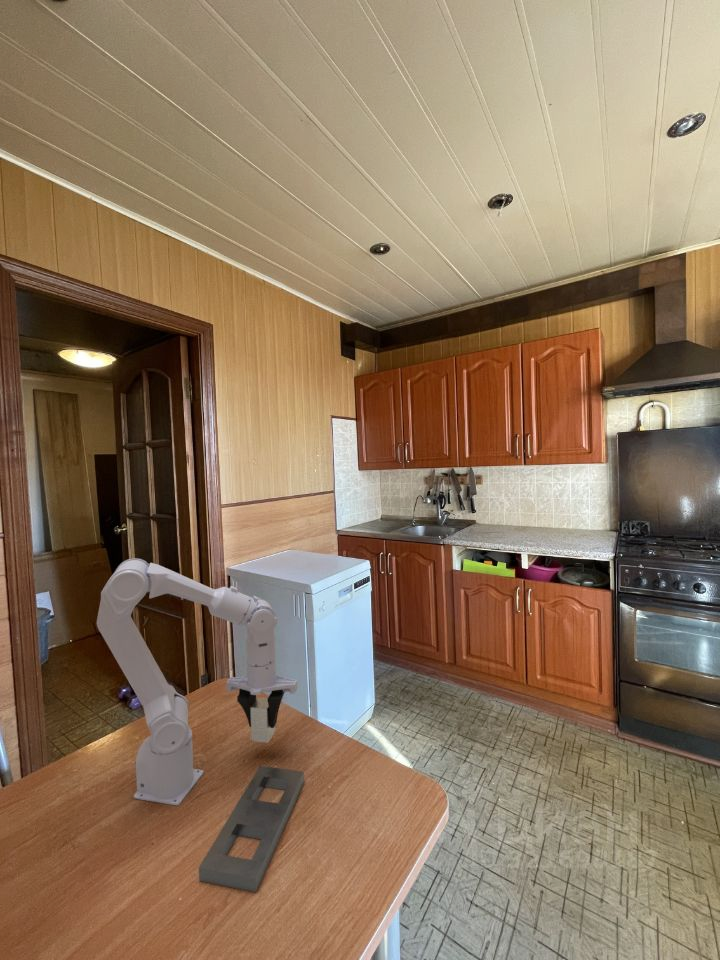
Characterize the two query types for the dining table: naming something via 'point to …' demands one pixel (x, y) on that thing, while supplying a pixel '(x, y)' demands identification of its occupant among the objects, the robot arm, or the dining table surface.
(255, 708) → the grey square peg
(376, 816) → the dining table surface
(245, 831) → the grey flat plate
